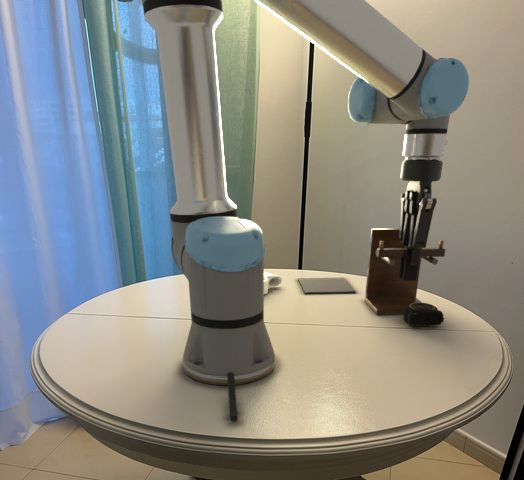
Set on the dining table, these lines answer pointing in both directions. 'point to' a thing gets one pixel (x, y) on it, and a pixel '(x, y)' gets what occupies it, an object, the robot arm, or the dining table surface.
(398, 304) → the rack
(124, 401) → the dining table surface
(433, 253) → the hanger
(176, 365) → the dining table surface
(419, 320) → the tape measure
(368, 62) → the robot arm
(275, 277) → the white brass knuckles
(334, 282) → the mat
